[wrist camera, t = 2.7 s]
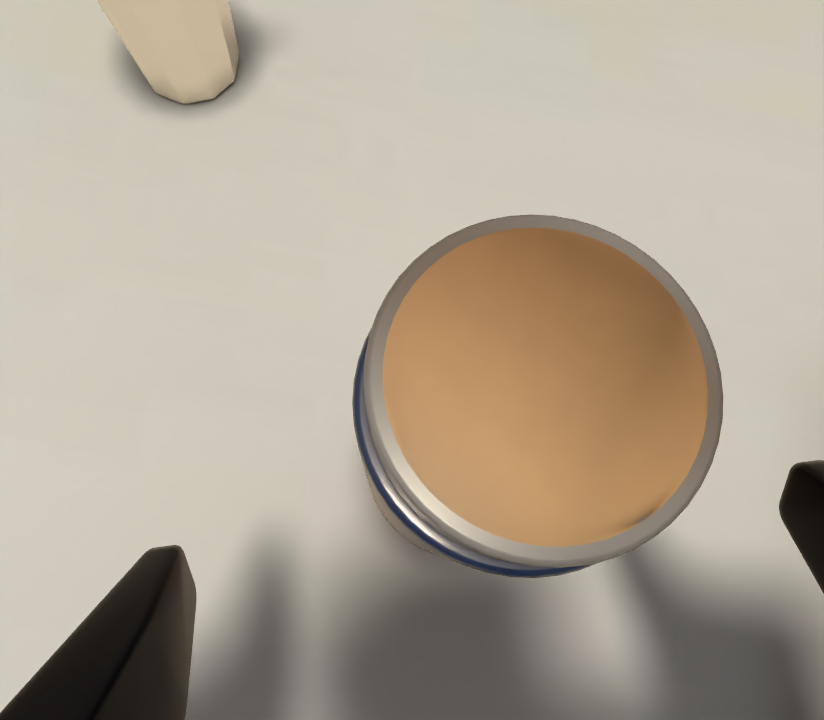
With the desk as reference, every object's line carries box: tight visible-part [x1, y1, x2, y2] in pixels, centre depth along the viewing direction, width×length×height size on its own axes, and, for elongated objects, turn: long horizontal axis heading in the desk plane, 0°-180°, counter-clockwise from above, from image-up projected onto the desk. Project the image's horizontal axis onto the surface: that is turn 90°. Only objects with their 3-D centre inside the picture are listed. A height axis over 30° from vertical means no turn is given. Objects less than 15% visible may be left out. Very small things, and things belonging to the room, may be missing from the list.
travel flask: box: [353, 215, 723, 578], centre depth 12 cm, size 4×4×12 cm
